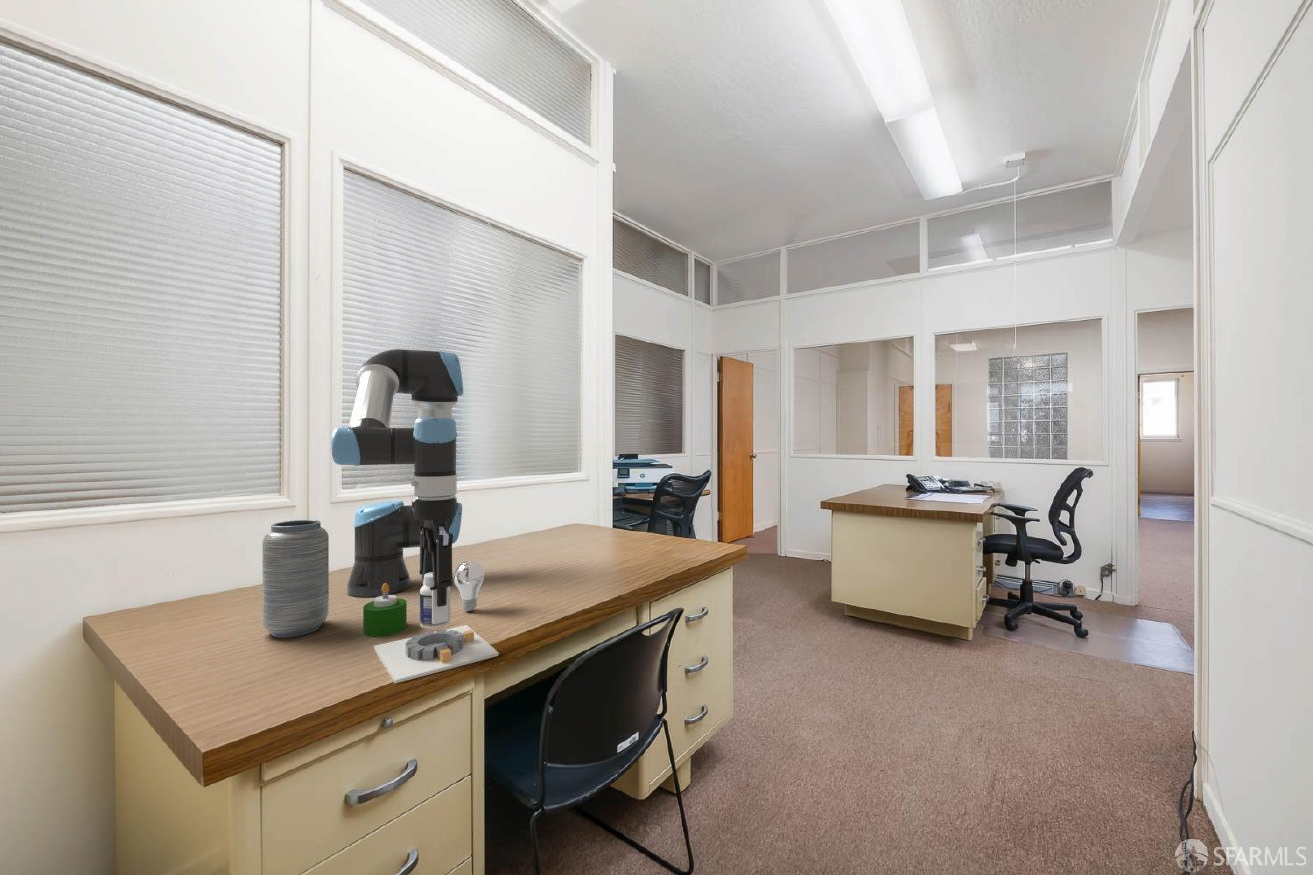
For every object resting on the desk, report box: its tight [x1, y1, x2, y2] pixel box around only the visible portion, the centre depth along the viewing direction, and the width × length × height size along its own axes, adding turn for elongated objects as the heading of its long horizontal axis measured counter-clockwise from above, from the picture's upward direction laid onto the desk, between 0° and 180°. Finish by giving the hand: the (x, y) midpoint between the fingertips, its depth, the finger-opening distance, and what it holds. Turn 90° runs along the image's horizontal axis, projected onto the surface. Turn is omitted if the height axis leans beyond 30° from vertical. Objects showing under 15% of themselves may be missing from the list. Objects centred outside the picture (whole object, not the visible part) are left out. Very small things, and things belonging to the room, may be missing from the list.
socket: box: [373, 624, 500, 684], centre depth 100 cm, size 18×18×2 cm
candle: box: [362, 583, 408, 638], centre depth 112 cm, size 8×8×10 cm
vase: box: [261, 519, 330, 639], centre depth 111 cm, size 12×12×23 cm
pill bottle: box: [419, 572, 451, 630], centre depth 100 cm, size 5×5×10 cm
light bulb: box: [453, 560, 486, 613], centre depth 123 cm, size 7×7×12 cm
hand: (435, 617), depth 100 cm, fingers closed on pill bottle, 5 cm apart
